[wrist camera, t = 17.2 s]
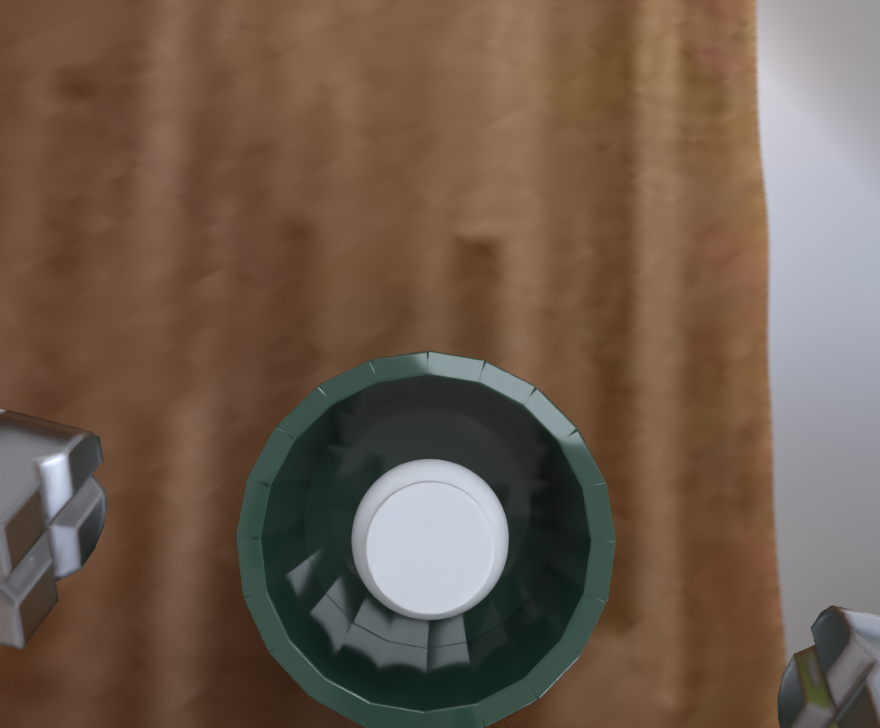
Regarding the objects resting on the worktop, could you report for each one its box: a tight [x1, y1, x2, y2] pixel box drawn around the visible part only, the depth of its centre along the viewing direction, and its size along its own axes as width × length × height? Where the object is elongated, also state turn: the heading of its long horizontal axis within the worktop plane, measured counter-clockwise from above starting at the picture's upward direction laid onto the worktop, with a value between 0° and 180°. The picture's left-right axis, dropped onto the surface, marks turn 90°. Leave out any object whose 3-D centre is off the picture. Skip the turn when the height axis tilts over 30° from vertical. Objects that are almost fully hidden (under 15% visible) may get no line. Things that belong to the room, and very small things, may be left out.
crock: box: [236, 351, 616, 728], centre depth 30 cm, size 12×12×9 cm
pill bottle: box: [351, 459, 509, 620], centre depth 29 cm, size 5×5×10 cm
